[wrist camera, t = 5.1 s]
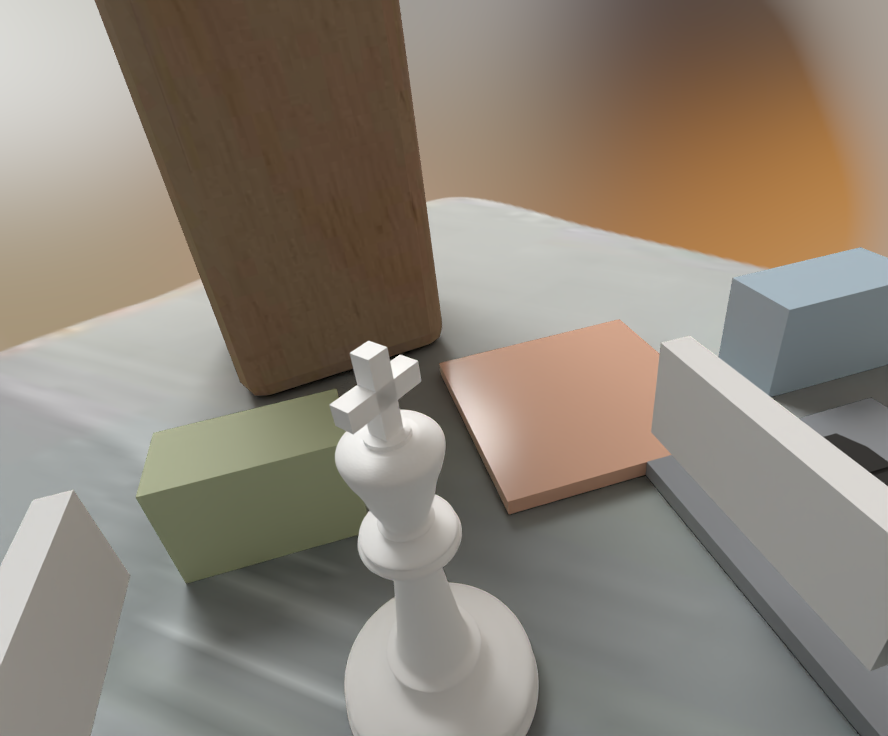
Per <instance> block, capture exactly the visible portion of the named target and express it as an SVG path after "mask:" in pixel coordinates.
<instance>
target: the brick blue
mask: <svg viewBox="0 0 888 736" xmlns="http://www.w3.org/2000/svg"><path fill="white" fill-rule="evenodd" d="M719 358H720V359H721V360H723V361H724V362H725V363H727V364H728V365H729V366H731V367H732V368H733V369H734V370H736V371H737V372H738V373H740V374H741V375H742V376H744V377H745V378H746V379H748V380H749V381H750V382H752V383H753V384H754V385H755V386H757V387H758V388H759V389H761V390H762V391H763V392H765V393H766V394H767V395H769V396H770V397H773V396H777V395H780V394H784V393H788V392H791V391H795V390H798V389H802V388H806V387H809V386H813V385H816V384H820V383H824V382H827V381H831V380H834V379H838V378H842V377H845V376H849V375H852V374H856V373H859V372H863V371H867V370H870V369H874V368H877V367H881V366H885V365H888V258H887V257H884V256H881V255H879V254H876V253H874V252H871V251H869V250H865V249H863V248H861V247H860V248H856V249H852V250H848V251H843V252H839V253H835V254H831V255H827V256H823V257H818V258H814V259H810V260H806V261H802V262H798V263H793V264H789V265H785V266H781V267H777V268H772V269H768V270H764V271H760V272H755V273H751V274H747V275H743V276H739V277H734V278H733V279H732V284H731V290H730V296H729V301H728V307H727V312H726V318H725V324H724V329H723V335H722V341H721V346H720V352H719Z"/></svg>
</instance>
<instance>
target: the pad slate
mask: <svg viewBox="0 0 888 736" xmlns="http://www.w3.org/2000/svg"><path fill="white" fill-rule="evenodd" d="M799 419H800V420H801V421H803V422H804V423H805V424H807V425H808V426H809V427H811V428H812V429H813V430H815V431H816V432H817V433H818V434H820V435H821V436H822V437H825V436H828V435H832V434H835V433H837V434H839V435H842V436H844V437H846V438H849V439H851V440H853V441H855V442H858V443H860V444H862V445H865V446H867V447H868V448H870V449H871V450H873V451H874V452H875V453H877V454H878V455H880V456H881V457H882V458H884V459H885V460H887V461H888V408H887V407H886V406H884V405H883V404H881V403H879V402H878V401H876V400H875V399H873V398H872V397H871V398H867V399H864V400H860V401H857V402H853V403H850V404H847V405H843V406H840V407H836V408H833V409H829V410H826V411H822V412H819V413H815V414H812V415H808V416H805V417H801V418H799ZM646 476H647V477H648V478H649V480H650V481H651V482H652V483H653V484H654V486H655V487H656V488H657V489H658V490H659V492H660V493H661V494H662V495H663V497H664V498H665V499H666V500H667V501H668V503H669V504H670V505H671V506H672V507H673V509H674V510H675V511H676V512H677V513H678V515H679V516H680V517H681V518H682V520H683V521H684V522H685V523H686V524H687V526H688V527H689V528H690V529H691V530H692V532H693V533H694V534H695V535H696V537H697V538H698V539H699V540H700V541H701V543H702V544H703V545H704V546H705V547H706V549H707V550H708V551H709V552H710V553H711V555H712V556H713V557H714V558H715V560H716V561H717V562H718V563H719V564H720V566H721V567H722V568H723V569H724V570H725V572H726V573H727V574H728V575H729V576H730V578H731V579H732V580H733V581H734V583H735V584H736V585H737V586H738V587H739V589H740V590H741V591H742V592H743V593H744V595H745V596H746V597H747V598H748V600H749V601H750V602H751V603H752V604H753V606H754V607H755V608H756V609H757V610H758V612H759V613H760V614H761V615H762V616H763V618H764V619H765V620H766V621H767V623H768V624H769V625H770V626H771V627H772V629H773V630H774V631H775V632H776V633H777V635H778V636H779V637H780V638H781V640H782V641H783V642H784V643H785V644H786V646H787V647H788V648H789V649H790V650H791V652H792V653H793V654H794V655H795V656H796V658H797V659H798V660H799V661H800V663H801V664H802V665H803V666H804V667H805V669H806V670H807V671H808V672H809V673H810V675H811V676H812V677H813V678H814V680H815V681H816V682H817V683H818V684H819V686H820V687H821V688H822V689H823V690H824V692H825V693H826V694H827V695H828V696H829V698H830V699H831V700H832V701H833V703H834V704H835V705H836V706H837V707H838V709H839V710H840V711H841V712H842V713H843V715H844V716H845V717H846V718H847V719H848V721H849V722H850V723H851V724H852V726H853V727H854V728H855V729H856V730H857V732H858V733H859V734H860V735H861V736H888V665H886V666H883V667H881V668H878V669H875V670H873V671H869V670H868V669H867V668H866V667H865V666H864V664H863V663H862V662H861V661H860V660H859V659H858V658H857V657H856V656H855V655H854V653H853V652H852V651H851V650H850V649H849V648H848V647H847V646H846V645H845V644H844V643H843V641H842V640H841V639H840V638H839V637H838V636H837V635H836V634H835V633H834V632H833V631H832V629H831V628H830V627H829V626H828V625H827V624H826V623H825V622H824V621H823V620H822V619H821V617H820V616H819V615H818V614H817V613H816V612H815V611H814V610H813V609H812V608H811V606H810V605H809V604H808V603H807V602H806V601H805V600H804V599H803V598H802V597H801V596H800V594H799V593H798V592H797V591H796V590H795V589H794V588H793V587H792V586H791V585H790V584H789V582H788V581H787V580H786V579H785V578H784V577H783V576H782V575H781V574H780V573H779V572H778V570H777V569H776V568H775V567H774V566H773V565H772V564H771V563H770V562H769V561H768V559H767V558H766V557H765V556H764V555H763V554H762V553H761V552H760V551H759V550H758V549H757V547H756V546H755V545H754V544H753V543H752V542H751V541H750V540H749V539H748V538H747V537H746V535H745V534H744V533H743V532H742V531H741V530H740V529H739V528H738V527H737V526H736V525H735V523H734V522H733V521H732V520H731V519H730V518H729V517H728V516H727V515H726V514H725V512H724V511H723V510H722V509H721V508H720V507H719V506H718V505H717V504H716V503H715V502H714V500H713V499H712V498H711V497H710V496H709V495H708V494H707V493H706V492H705V491H704V490H703V488H702V487H701V486H700V485H699V484H698V483H697V482H696V481H695V480H694V479H693V477H692V476H691V475H690V474H689V473H688V472H687V471H686V470H685V469H684V468H683V467H682V465H681V464H680V463H679V462H678V461H677V460H676V459H675V458H674V457H673V456H672V455H669V456H666V457H662V458H659V459H655V460H652V461H648V462H647V466H646Z"/></svg>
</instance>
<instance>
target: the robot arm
mask: <svg viewBox="0 0 888 736" xmlns="http://www.w3.org/2000/svg"><path fill="white" fill-rule="evenodd" d="M651 433H652V434H653V435H654V436H655V437H656V438H657V439H658V440H659V441H660V443H661V444H662V445H663V446H664V447H665V448H666V449H667V450H668V451H669V452H670V453H671V455H672V456H673V457H674V458H675V459H676V460H677V461H678V462H679V463H680V464H681V465H682V467H683V468H684V469H685V470H686V471H687V472H688V473H689V474H690V475H691V476H692V477H693V479H694V480H695V481H696V482H697V483H698V484H699V485H700V486H701V487H702V488H703V490H704V491H705V492H706V493H707V494H708V495H709V496H710V497H711V498H712V499H713V500H714V502H715V503H716V504H717V505H718V506H719V507H720V508H721V509H722V510H723V511H724V512H725V514H726V515H727V516H728V517H729V518H730V519H731V520H732V521H733V522H734V523H735V525H736V526H737V527H738V528H739V529H740V530H741V531H742V532H743V533H744V534H745V535H746V537H747V538H748V539H749V540H750V541H751V542H752V543H753V544H754V545H755V546H756V547H757V549H758V550H759V551H760V552H761V553H762V554H763V555H764V556H765V557H766V558H767V559H768V561H769V562H770V563H771V564H772V565H773V566H774V567H775V568H776V569H777V570H778V572H779V573H780V574H781V575H782V576H783V577H784V578H785V579H786V580H787V581H788V582H789V584H790V585H791V586H792V587H793V588H794V589H795V590H796V591H797V592H798V593H799V594H800V596H801V597H802V598H803V599H804V600H805V601H806V602H807V603H808V604H809V605H810V606H811V608H812V609H813V610H814V611H815V612H816V613H817V614H818V615H819V616H820V617H821V619H822V620H823V621H824V622H825V623H826V624H827V625H828V626H829V627H830V628H831V629H832V631H833V632H834V633H835V634H836V635H837V636H838V637H839V638H840V639H841V640H842V641H843V643H844V644H845V645H846V646H847V647H848V648H849V649H850V650H851V651H852V652H853V653H854V655H855V656H856V657H857V658H858V659H859V660H860V661H861V662H862V663H863V664H864V666H865V667H866V668H867V669H868V670H869V671H873V670H875V669H878V668H881V667H883V666H886V665H888V461H887V460H885V459H884V458H882V457H881V456H880V455H878V454H877V453H875V452H874V451H873V450H871V449H870V448H868V447H867V446H865V445H862V444H860V443H858V442H855V441H853V440H851V439H849V438H846V437H844V436H842V435H839V434H837V433H835V434H832V435H828V436H825V437H822V436H821V435H820V434H818V433H817V432H816V431H815V430H813V429H812V428H811V427H809V426H808V425H807V424H805V423H804V422H803V421H801V420H800V419H799V418H797V417H796V416H795V415H794V414H792V413H791V412H790V411H788V410H787V409H786V408H784V407H783V406H782V405H780V404H779V403H778V402H776V401H775V400H774V399H773V398H771V397H770V396H769V395H767V394H766V393H765V392H763V391H762V390H761V389H759V388H758V387H757V386H755V385H754V384H753V383H752V382H750V381H749V380H748V379H746V378H745V377H744V376H742V375H741V374H740V373H738V372H737V371H736V370H734V369H733V368H732V367H731V366H729V365H728V364H727V363H725V362H724V361H723V360H721V359H720V358H719V357H717V356H716V355H715V354H713V353H712V352H711V351H710V350H708V349H707V348H706V347H704V346H703V345H702V344H700V343H699V342H698V341H696V340H695V339H694V338H692V337H691V336H686V337H682V338H678V339H674V340H670V341H666V342H662V343H661V346H660V355H659V364H658V373H657V382H656V391H655V401H654V410H653V419H652V428H651ZM129 579H130V574H129V573H128V571H127V570H126V568H125V567H124V565H123V564H122V562H121V561H120V559H119V558H118V556H117V555H116V553H115V552H114V550H113V549H112V547H111V546H110V544H109V543H108V541H107V540H106V538H105V537H104V535H103V534H102V532H101V531H100V529H99V528H98V526H97V525H96V523H95V522H94V520H93V519H92V517H91V516H90V514H89V513H88V511H87V510H86V508H85V507H84V505H83V504H82V502H81V501H80V499H79V498H78V496H77V495H76V493H75V492H74V490H70V491H66V492H62V493H58V494H54V495H50V496H46V497H42V498H38V499H34V500H32V502H31V504H30V507H29V509H28V511H27V513H26V515H25V517H24V519H23V521H22V523H21V525H20V527H19V529H18V531H17V533H16V535H15V537H14V539H13V541H12V543H11V545H10V547H9V549H8V551H7V554H6V556H5V558H4V560H3V562H2V564H1V566H0V736H90V735H91V731H92V727H93V723H94V719H95V715H96V711H97V707H98V703H99V699H100V695H101V691H102V687H103V683H104V679H105V675H106V671H107V667H108V663H109V659H110V655H111V651H112V647H113V643H114V639H115V635H116V631H117V627H118V623H119V619H120V615H121V611H122V607H123V603H124V599H125V595H126V591H127V587H128V583H129Z"/></svg>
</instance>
